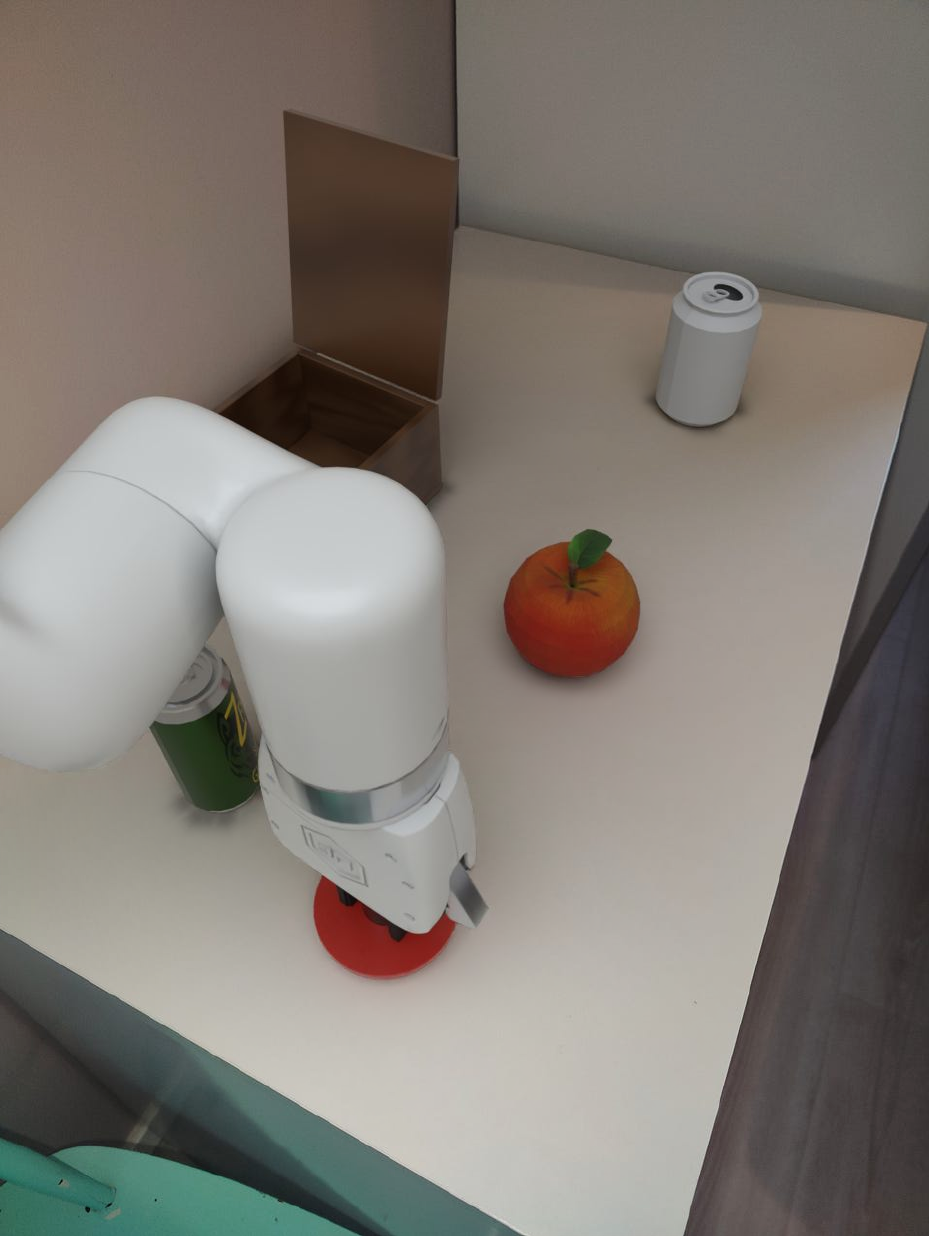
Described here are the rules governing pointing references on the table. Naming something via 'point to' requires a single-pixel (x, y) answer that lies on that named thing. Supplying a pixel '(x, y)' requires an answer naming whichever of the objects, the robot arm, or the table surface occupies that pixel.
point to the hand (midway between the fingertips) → (385, 900)
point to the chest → (342, 420)
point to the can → (708, 348)
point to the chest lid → (370, 249)
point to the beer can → (209, 737)
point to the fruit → (572, 607)
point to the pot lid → (373, 938)
